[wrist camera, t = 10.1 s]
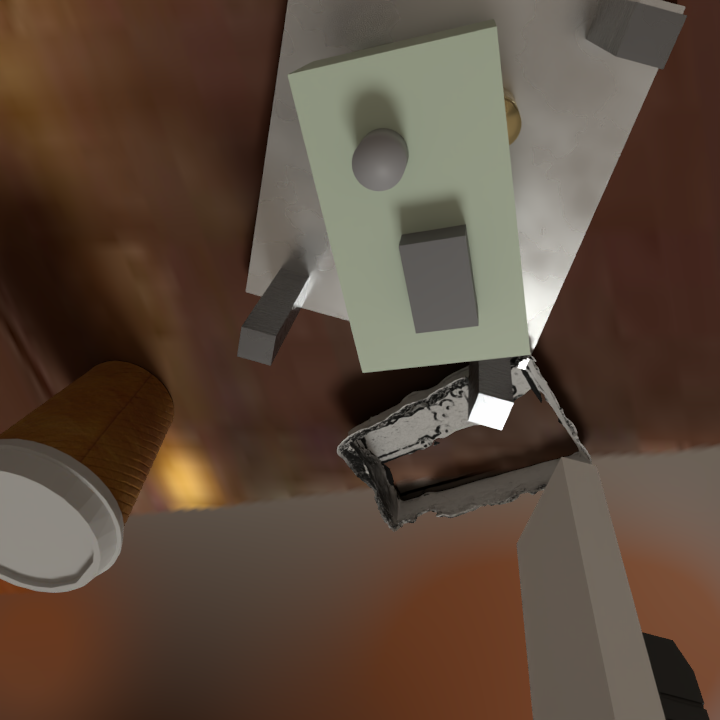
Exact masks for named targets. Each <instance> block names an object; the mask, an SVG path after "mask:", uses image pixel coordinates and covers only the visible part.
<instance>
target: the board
mask: <svg viewBox="0 0 720 720" xmlns="http://www.w3.org/2000/svg"><path fill="white" fill-rule="evenodd" d="M288 79H289V83H290V87H291V91H292V95H293V99H294V103H295V107H296V111H297V115H298V119H299V123H300V127H301V131H302V135H303V139H304V143H305V146H306V150H307V154H308V158H309V162H310V166H311V170H312V174H313V178H314V182H315V186H316V190H317V194H318V198H319V202H320V206H321V210H322V214H323V218H324V222H325V226H326V230H327V234H328V238H329V242H330V246H331V250H332V254H333V258H334V262H335V265H336V269H337V273H338V277H339V281H340V285H341V289H342V293H343V297H344V301H345V305H346V309H347V313H348V317H349V321H350V325H351V329H352V333H353V337H354V341H355V345H356V349H357V353H358V357H359V361H360V365H361V369H362V373H366V372H376V371H385V370H394V369H404V368H413V367H422V366H431V365H441V364H450V363H459V362H468V361H478V360H487V359H496V358H505V357H515V356H524V355H531V354H530V345H529V335H528V325H527V315H526V306H525V296H524V286H523V277H522V267H521V257H520V247H519V238H518V228H517V218H516V209H515V199H514V189H513V179H512V170H511V160H510V150H509V140H508V131H507V121H506V111H505V102H504V92H503V82H502V72H501V63H500V53H499V43H498V33H497V26H496V23H495V21H494V19H492V20H487V21H483V22H479V23H475V24H470V25H466V26H462V27H458V28H453V29H449V30H445V31H440V32H436V33H432V34H428V35H423V36H419V37H415V38H411V39H406V40H402V41H398V42H393V43H389V44H385V45H381V46H376V47H372V48H368V49H364V50H359V51H355V52H351V53H346V54H342V55H338V56H334V57H329V58H325V59H321V60H317V61H313V62H311V63H309V64H307V65H305V66H303V67H301V68H299V69H297V70H295V71H293V72H292V73H290V74H288Z"/></svg>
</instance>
